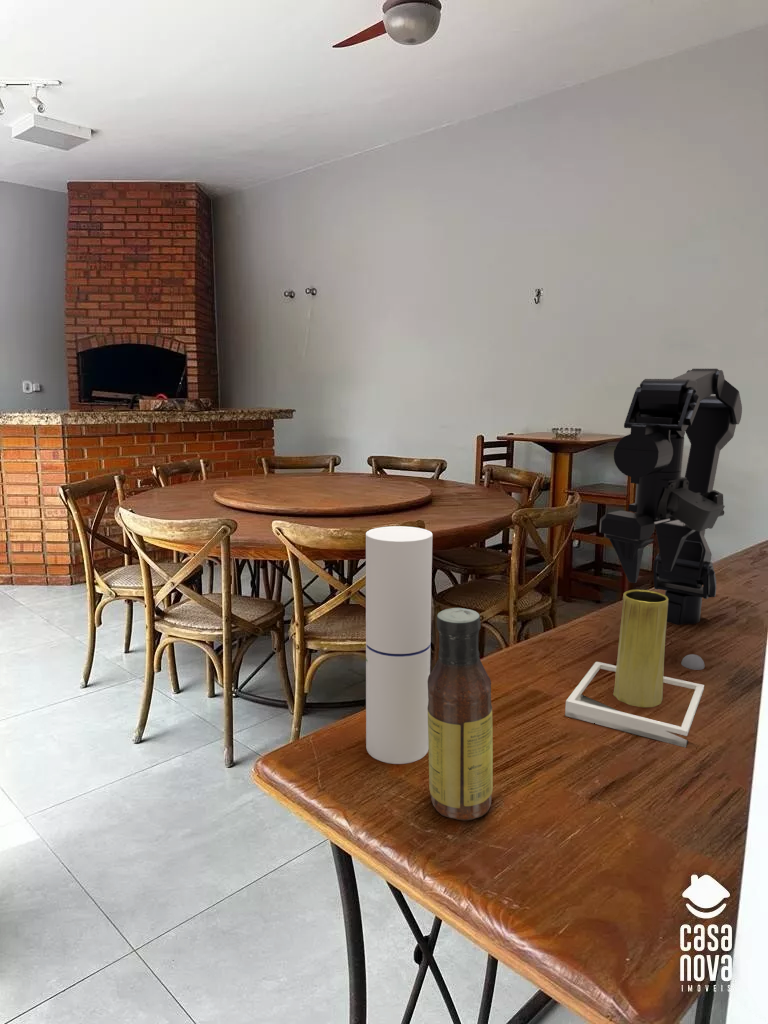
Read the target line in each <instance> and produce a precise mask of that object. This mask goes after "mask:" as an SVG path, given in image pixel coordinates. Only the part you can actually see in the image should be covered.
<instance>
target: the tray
mask: <svg viewBox="0 0 768 1024" xmlns="http://www.w3.org/2000/svg"><path fill="white" fill-rule="evenodd" d="M600 669H601V670H605V671H610V672H614V673H616V665H614V664H611V663H605V662H601V661H595V662H594V663H593V664H592V666H591V667H590V669H588V671H587V672H586V674H585V675H584V677H583V678H582V679H581V681H580V682H579V683H578V685H577V686H576V687H575V688H574V690H573V691H572V692H571V694H570V695H569V696H568V698H567V699H566V700H565V709H564V711H565V712H564V716H565V717H569V718H572V719H575V720H580V721H584V722H587V723H591V724H594V723H595V725H599V726H602V727H606V728H611V729H613V730H617V731H621V732H625V733H629V734H632V735H637V736H641V737H645V738H647V739H651V740H655V741H658V742H663V743H666V744H669V745H673V746H674V745H675V746H678V747H682V748H687V746H688V743H689V740H687V739H686V738H683V737H681V736H685V737H688V735H689V733H690V729H691V727H692V723H693V721H694V718H695V714H696V712H697V709H698V707H699V704H700V701H701V699H702V695H703V693H704V690H705V684H701V683H698V682H697V683H696V682H692V681H686V680H683V679H679V678H673V677H669V676H664V675H663V684H664V683H665V684H668V685H673V686H676V687H682V688H686V689H690V690H694V692H693V695H692V697H691V699H690V703H689V706H688V708H687V711H686V713H685V715H684V718H683V720H682V723H681V726H679V725H675V724H672V723H668V722H663V721H658V720H655V719H651V718H647V717H644V716H640V715H635V714H632V713H627V712H623V711H621V710H618V709H616V708H614V707H611V706H609V705H606V704H604V703H602V702H600V701H597V700H595V699H593V698H590V697H589V696H587V695H584V694H583V692H584V691H585V690H586V688H587V687H588V686H589V684H590V683H591V682H592V681H593V679H594V677H596V674H597V673H598V672H599V670H600ZM677 734H678V735H681V736H678V735H677Z"/></svg>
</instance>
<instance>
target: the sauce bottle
mask: <svg viewBox="0 0 768 1024" xmlns="http://www.w3.org/2000/svg"><path fill="white" fill-rule="evenodd" d="M481 627H482V626H481V616H480V613H479V612H477V611H476V610H473V609H469V608H464V607H463V608H462V607H452V608H445V609H443V610H441V611H439V612H438V613H437V614H436V628H437V631H438V640H439V641H438V642H439V643H438V647H439V650H438V654H437V655H438V659H437V661H436V663H435V665H434V666H433V668H432V670H430V675H429V677H428V708H427V709H428V746H429V749H428V784H429V787H428V788H429V789H428V790H429V792H430V799H431V803H432V805H433V807H434V809H435V810H436V812H438V813H439V814H440V815H442V816H443V817H446V818H450V819H454V820H459V821H472V820H475V819H478V818H481V817H483V816H484V815H486V814H487V813H488V811H490V807H491V804H492V794H493V791H494V789H493V788H494V787H493V785H494V781H493V780H494V777H493V776H494V775H493V772H494V771H493V767H494V766H493V760H494V759H493V758H494V757H493V752H494V751H493V750H494V749H493V742H494V741H493V738H494V737H493V734H494V733H493V706H492V680H491V677H489V675H488V673H487V671H486V669H485V666H484V664H483V662H482V661H481V658H480V651H479V635H480V634H479V633H480V630H481Z"/></svg>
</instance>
